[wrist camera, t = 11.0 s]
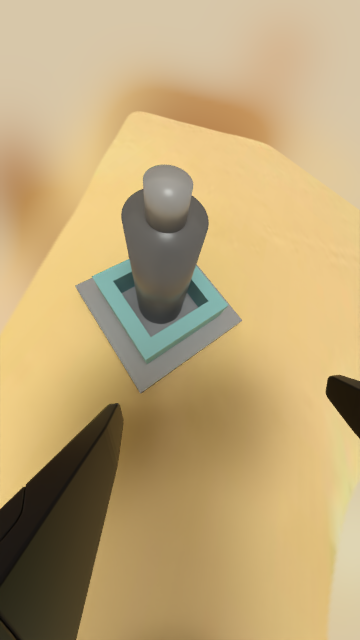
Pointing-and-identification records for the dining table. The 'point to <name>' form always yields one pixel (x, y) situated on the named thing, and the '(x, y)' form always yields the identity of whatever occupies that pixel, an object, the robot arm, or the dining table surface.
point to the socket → (150, 338)
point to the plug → (163, 240)
